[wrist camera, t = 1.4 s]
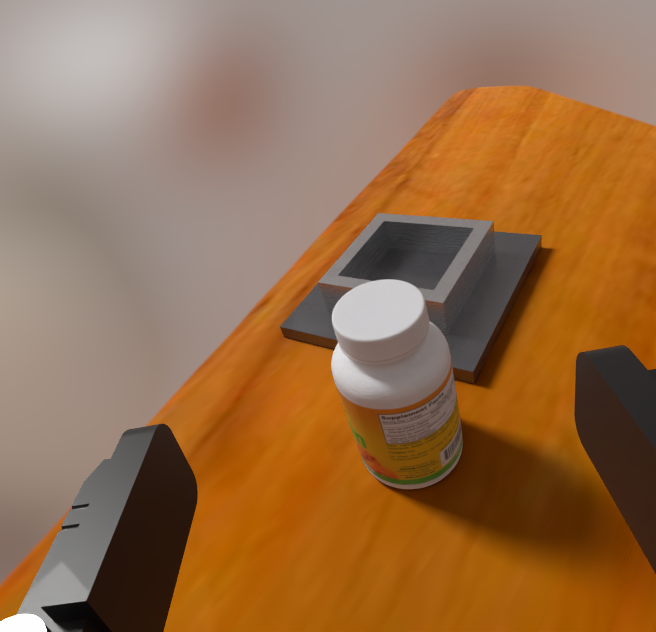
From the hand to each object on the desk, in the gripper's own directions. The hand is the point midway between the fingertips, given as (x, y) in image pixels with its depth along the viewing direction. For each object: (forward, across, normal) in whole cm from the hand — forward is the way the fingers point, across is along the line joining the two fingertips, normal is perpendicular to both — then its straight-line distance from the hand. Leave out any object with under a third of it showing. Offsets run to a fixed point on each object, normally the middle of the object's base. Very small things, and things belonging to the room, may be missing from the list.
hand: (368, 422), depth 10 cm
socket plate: (+25, -3, +12) cm, 28 cm away
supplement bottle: (+12, -1, +14) cm, 18 cm away
